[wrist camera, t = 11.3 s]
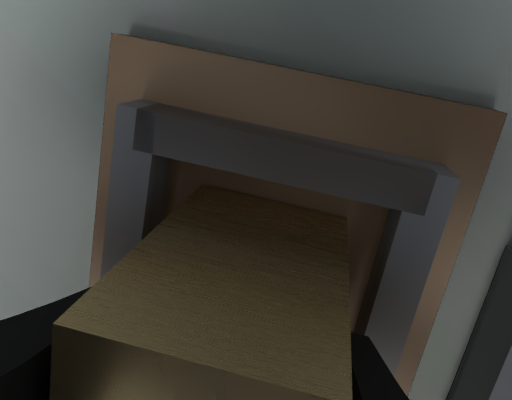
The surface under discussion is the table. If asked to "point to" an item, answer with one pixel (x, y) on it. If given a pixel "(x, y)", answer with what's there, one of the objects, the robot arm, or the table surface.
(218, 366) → the block
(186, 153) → the framed wooden tray
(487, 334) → the button housing
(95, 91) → the table surface
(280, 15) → the table surface
